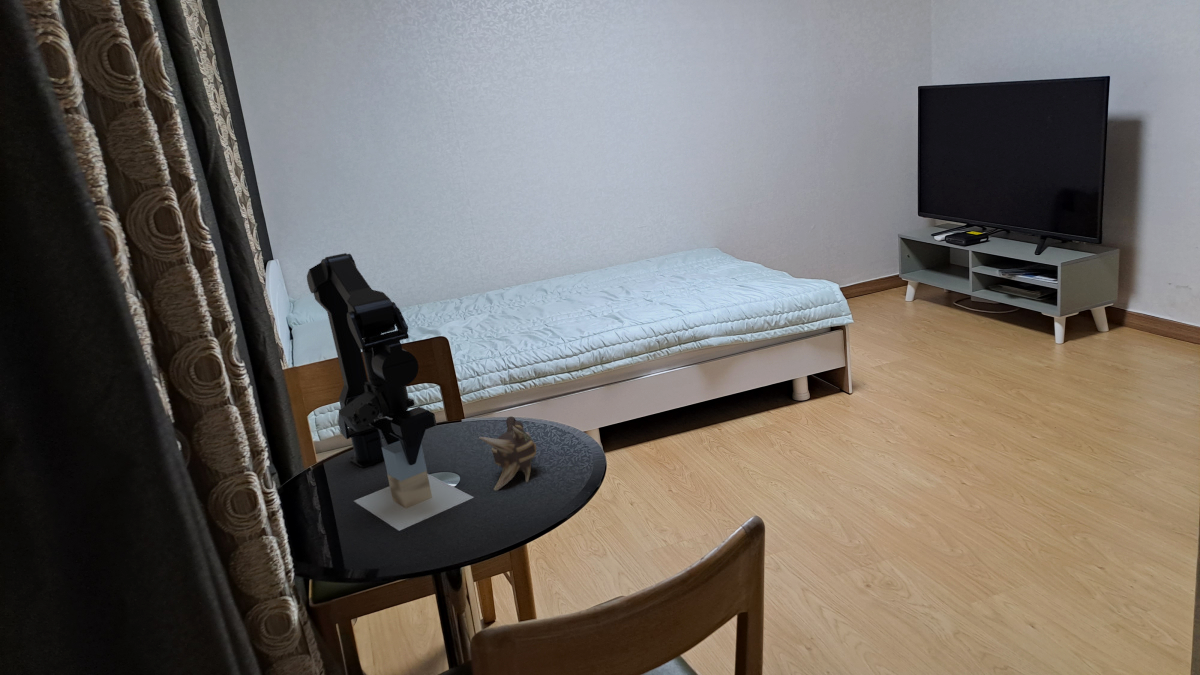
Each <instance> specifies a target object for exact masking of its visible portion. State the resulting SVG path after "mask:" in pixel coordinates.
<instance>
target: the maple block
mask: <svg viewBox="0 0 1200 675" xmlns="http://www.w3.org/2000/svg"><path fill="white" fill-rule="evenodd" d="M427 474H428V470H427V471H425V472H422V473H420V474H417V475H415V476H412V477H410V478H408V479H405V480H403V481H399V480H397V479H395V478H394V477H392V476H390V475H388V474H386V475H387V479H388V485H389V486H390V489H391V494H392V498H393V501H394V502H396V503H398V504H399V505H401V506H403V507H404V508H409V507H411V506H413V505H416V504H418V503H420V502H423V501H425V500H427V499H430V498H432V494H431V489H430V484H429V480H428V475H427Z"/></svg>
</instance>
